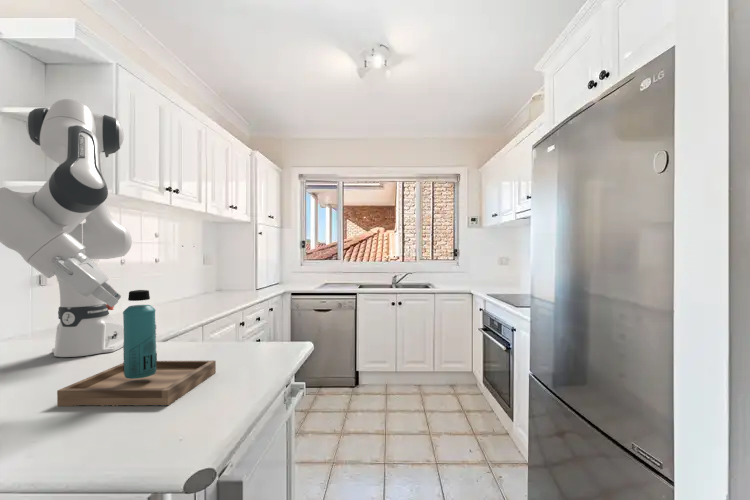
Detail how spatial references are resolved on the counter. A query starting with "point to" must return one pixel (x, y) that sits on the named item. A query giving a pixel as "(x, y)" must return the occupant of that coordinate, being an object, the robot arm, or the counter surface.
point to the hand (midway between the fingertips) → (117, 301)
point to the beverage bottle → (139, 337)
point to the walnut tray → (138, 385)
